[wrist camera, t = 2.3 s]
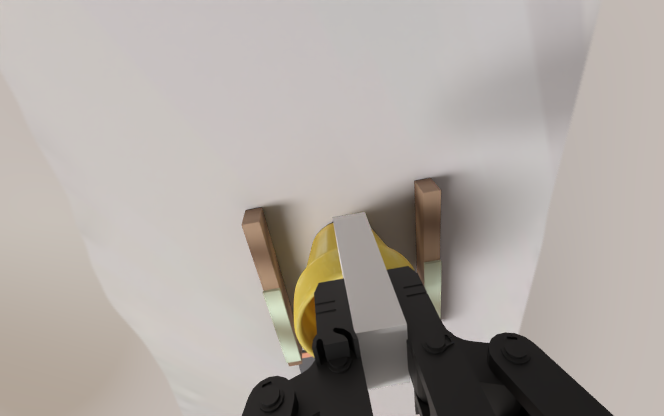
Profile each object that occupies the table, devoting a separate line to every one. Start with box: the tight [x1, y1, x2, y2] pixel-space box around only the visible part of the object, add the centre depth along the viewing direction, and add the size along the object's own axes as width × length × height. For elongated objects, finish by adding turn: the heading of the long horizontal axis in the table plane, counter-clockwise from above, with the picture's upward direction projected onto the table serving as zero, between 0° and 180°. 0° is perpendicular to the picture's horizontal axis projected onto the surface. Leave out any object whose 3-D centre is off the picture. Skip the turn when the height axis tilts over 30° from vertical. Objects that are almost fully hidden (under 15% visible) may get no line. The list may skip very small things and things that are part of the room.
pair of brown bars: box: [242, 178, 442, 366], centre depth 34 cm, size 19×17×3 cm
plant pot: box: [294, 223, 415, 357], centre depth 29 cm, size 10×10×10 cm
